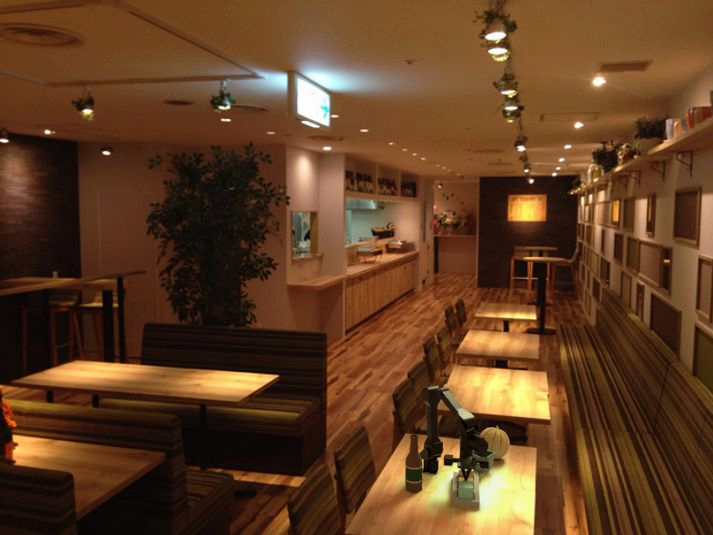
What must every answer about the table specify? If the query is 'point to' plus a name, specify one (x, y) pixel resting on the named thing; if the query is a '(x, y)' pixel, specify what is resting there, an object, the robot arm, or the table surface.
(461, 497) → the green block
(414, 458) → the beer bottle
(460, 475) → the light brown block
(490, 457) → the flower pot
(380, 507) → the table surface
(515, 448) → the table surface
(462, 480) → the tan block
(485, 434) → the cantaloupe
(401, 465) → the table surface
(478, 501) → the grey rectangular tray
